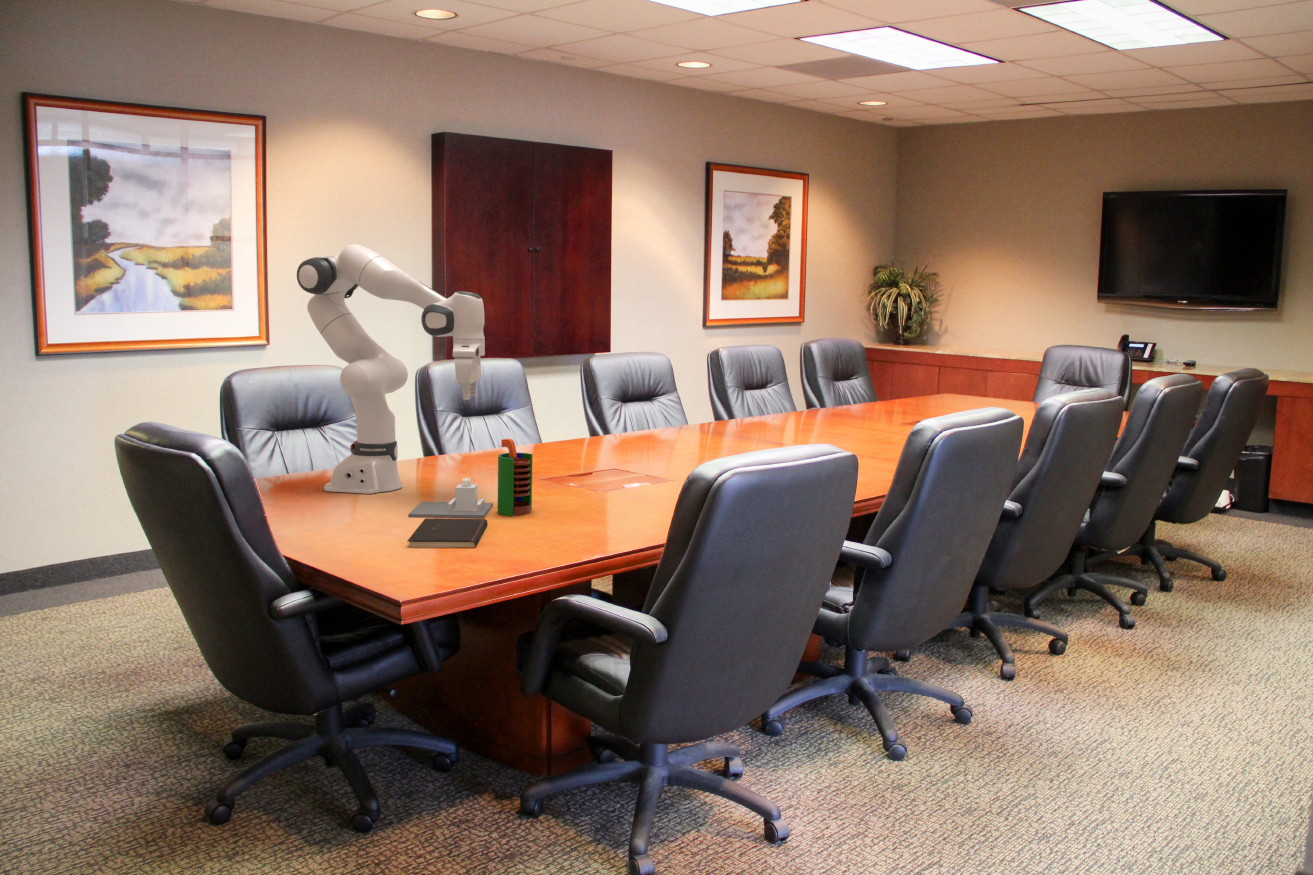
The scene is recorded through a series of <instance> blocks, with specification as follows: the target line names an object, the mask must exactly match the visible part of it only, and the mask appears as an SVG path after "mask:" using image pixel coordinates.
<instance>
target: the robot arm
mask: <svg viewBox="0 0 1313 875" xmlns="http://www.w3.org/2000/svg"><path fill="white" fill-rule="evenodd" d="M296 280H297V283H298V285H299V287H300V288H301V289H302V290H303V291H305V292H306V293H308V294H311V295H312V294H313V295H312V296H311V298H310V299H309V300H308V303H307V307H306V308H307V312H308V314H309V317H310V319H311V321H312V323H313V324H314V326H315V328H316V329H317V331H318V333H319V334H320V335H321V337H322V338H323V339H324V341H325V342H326V343H327V345H328V346H329V348H330V349H331V350H332V352H333V353H334V355H335V356H336V357H337V358H339V359H341V360H342V361H344V362H346V363H348V364H347V365H346V366H344V367H343V369H342V370H341V372H340V376H339V380H340V381H339V382H340V385H341V388H342V389H343V391H344V392H345V393H346V394H347V395H348V396H349V398H350V401H351V402H352V406H353V409H354V413H355V419H356V440H355V441H353V442H352V443H351V445H350V446H349V447H350V448H349V450H350V455H348V456H347V457H345V458H344V459H343V460H341V462H339V463H338V464H337V465H336V466H335V467H334V469H333V470H332V473H331V480H330V481H329V482H327V483H326V484H324V486H323V490H324V491H325V492H333V493H334V492H335V493H348V494H349V493H353V494H365V495H366V494H368V495H370V494H377V493H383V492H391V491H396V490H399V489H402V487H403V485H402V483H401V479H400V478H401V477H400V474H399V468H398V462H397V460H398V456H399V455H398V454H399V453H398V452H399V451H398V441H397V440H396V416H395V414H394V412H393V411H392V410H391V409H390V408H389V404H388V402H387V398H386V394H387V395H388V394H392V393H394V392H396V391H398V390H400V389H401V388H403V387H404V386H405V385H406V383H407V380H408V377H409V376H408V374H409V373H408V368H407V366H406V365H405V364H404V362H403V361H401V360H400V359H399V358H396V357H394V356H393V355H391V354H390V353H389V352H387V351H386V350H385V349H384V348H383V347H381V346H380V345H379V344H378V343H377V341H375V340H374V339H373V338H372V337H371V336H370V335H369V334H368V333H367V332H366V330H365V329H364V328H363V326H362V325H361V324H360V323H359V321H358V320H357V318H356V317H355V315H354V314H353V313H352V311H351V309H349V308H348V306H347V304H346V302H345V299H348V298H351V297H352V296H353V294H354V292H355V290H357V289H358V288H361V289H362V290H364V291H365V292H366V293H369V294H370V295H372V296H375V297H377V298H380V299H382V300H390V301H391V300H393V301H400V302H407V303H410V304H414V305H416V306H418V307H420V308H421V309H423V311H422V314H421V317H420V319H421V325H422V328H423V331H425V333H427V334H428V335H430V336H433V337H439V338H441V337H452V345H453V346H452V347H453V348H452V357H453V358H454V370H455V371H454V372H455V378H456V383H457V385H459V386H460V385H461V392H462V399H463V400H465V401H469V400H470V399H471V397H475V396H476V394H477V392H476V390H477V384H478V380H479V379H480V380H481V378H482V363H481V357H483V356H485V355H486V351H485V350H486V349H485V348H486V343H485V339H486V337H485V334H484V327H485V321H486V320H485V308H484V307H485V306H484V300H483V298H482V297H481V295H479V294H478V293H475V292H471V291H464V290H460V291H459V290H458V291H455V292H454V293H453V294H452V295H451V296H449V297H446V296H444V295H442V294H441V293H440V292H438V291H436V290H434V289H432V288H431V287H429V286H428V285H425V284H424V283H422V282H421V281H419V280H417V279H415V277H413V276H411V275H410V274H408V273H407V272H406V271H404V270H402V269H401V268H399V266H397V265H395V264H394V263H393V262H391V261H390V260H388V259H387V258H385V257H384V256H382V255H381V254H380V253H378V252H376V251H375V250H372V249H370V248H368V247H366V246H365V245H364V246H363V245H361V244H358V243H351V244H349V245H347V246H345V247H344V248H343V249H342V250H341V251H340V253H339V255H338V256H336V255H327V256H320V257H318V256H317V257H311V258H308V259H305V260H303V261H302V262H301V263H300V264H299V266H298V267H297V270H296Z"/></svg>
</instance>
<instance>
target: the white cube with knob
mask: <svg viewBox="0 0 1313 875" xmlns="http://www.w3.org/2000/svg"><path fill="white" fill-rule="evenodd" d="M471 482H472V478H470V477H463V478H461V483H459V484H457V485H456V486H455V498H456V509H458V510H474V509H475V508H476V504H477V502H478V484H472V483H471Z"/></svg>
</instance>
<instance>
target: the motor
mask: <svg viewBox="0 0 1313 875" xmlns="http://www.w3.org/2000/svg"><path fill="white" fill-rule="evenodd" d="M500 443H501V444H500V446H501V448H507V450H508V452H504V453H500V454H497V514H499V515H502V516H508V517H513V516H523V515H525V516H526V515H528V514H530V513H531V511H532V509H533V508H532V505H533V500H532V499H533V498H532V497H533V453H529V452H517V449H516V448H517V447H516V444H515V441H514V439H512V438H504V439H501V442H500Z"/></svg>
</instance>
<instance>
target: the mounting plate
mask: <svg viewBox="0 0 1313 875" xmlns="http://www.w3.org/2000/svg"><path fill="white" fill-rule="evenodd" d="M485 500H486V499H485V498H483V497H482V498H480V499H479V500H477V504H476V508H475V509H474V510H458V509H456V497H453V498H452V499H451V500H450V501H421V502H419V503H418V504H417V505H416V506H415V507H414V508H413V509H412V510H411V511H410V512H409V513H408V518H441V519H485V517H486V516H487V515H488V513H489V511H490V510H491V509H492V508H493V507H494V503H493V502H486V501H485Z"/></svg>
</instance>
